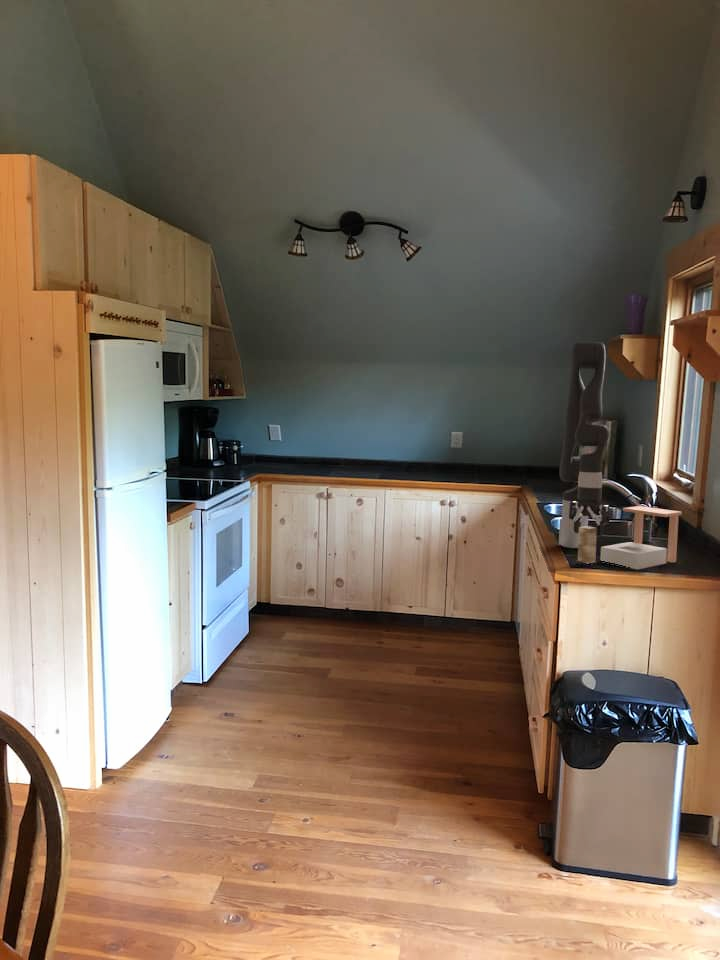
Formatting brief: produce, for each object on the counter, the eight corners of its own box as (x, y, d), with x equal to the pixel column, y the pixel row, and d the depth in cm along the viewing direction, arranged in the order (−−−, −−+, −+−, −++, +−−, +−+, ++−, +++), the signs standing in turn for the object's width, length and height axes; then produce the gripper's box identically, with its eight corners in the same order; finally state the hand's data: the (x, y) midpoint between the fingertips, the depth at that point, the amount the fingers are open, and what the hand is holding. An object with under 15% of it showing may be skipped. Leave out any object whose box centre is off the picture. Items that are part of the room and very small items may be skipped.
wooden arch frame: (620, 556, 254) (622, 508, 252) (636, 553, 259) (639, 505, 258) (662, 565, 241) (665, 514, 239) (679, 561, 246) (681, 511, 245)
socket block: (600, 561, 246) (600, 546, 245) (629, 556, 255) (629, 541, 255) (637, 569, 235) (638, 554, 234) (666, 563, 244) (666, 548, 243)
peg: (577, 562, 244) (579, 527, 242) (585, 561, 246) (586, 526, 245) (587, 565, 240) (589, 528, 239) (595, 563, 243) (596, 527, 242)
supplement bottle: (644, 543, 278) (645, 512, 277) (628, 540, 283) (629, 510, 282) (654, 541, 282) (656, 510, 281) (638, 539, 287) (640, 508, 286)
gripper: (564, 484, 244) (563, 532, 245) (601, 488, 233) (599, 538, 234) (579, 483, 248) (577, 530, 250) (615, 486, 237) (613, 536, 238)
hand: (588, 534), depth 242 cm, fingers open, 8 cm apart
